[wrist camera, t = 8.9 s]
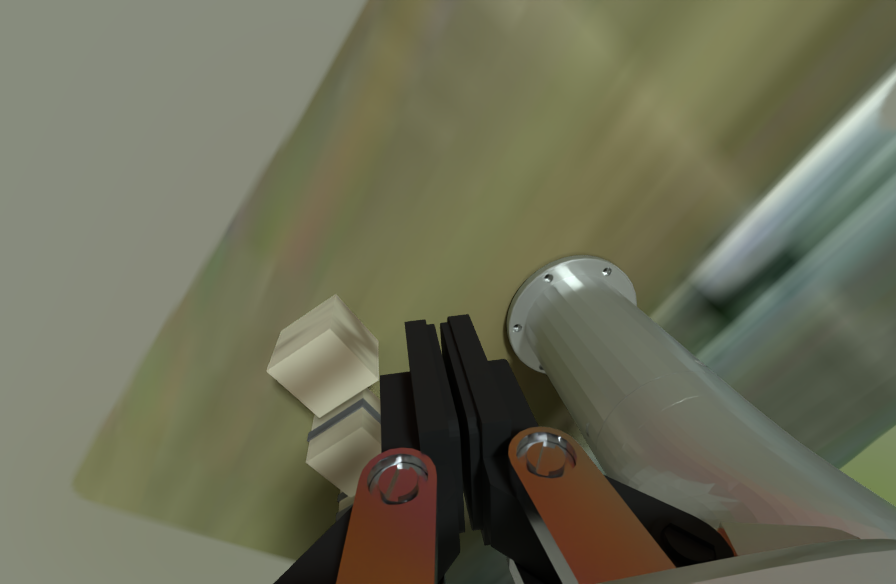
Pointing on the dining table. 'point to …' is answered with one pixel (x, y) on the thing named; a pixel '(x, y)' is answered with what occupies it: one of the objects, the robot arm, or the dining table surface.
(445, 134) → the dining table surface
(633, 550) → the robot arm
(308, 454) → the banded block one
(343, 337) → the plain block
